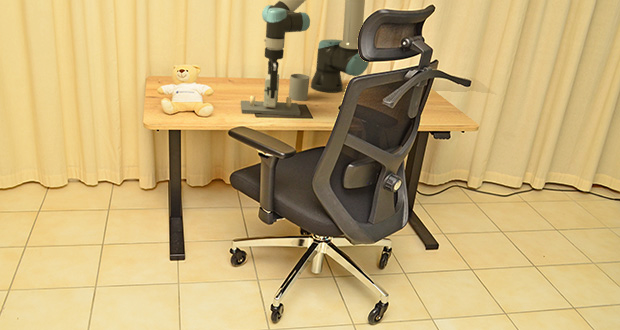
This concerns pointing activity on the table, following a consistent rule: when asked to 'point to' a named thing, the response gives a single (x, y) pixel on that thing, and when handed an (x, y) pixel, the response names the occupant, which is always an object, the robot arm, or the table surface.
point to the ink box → (266, 91)
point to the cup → (299, 87)
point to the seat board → (279, 109)
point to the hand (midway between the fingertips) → (270, 101)
